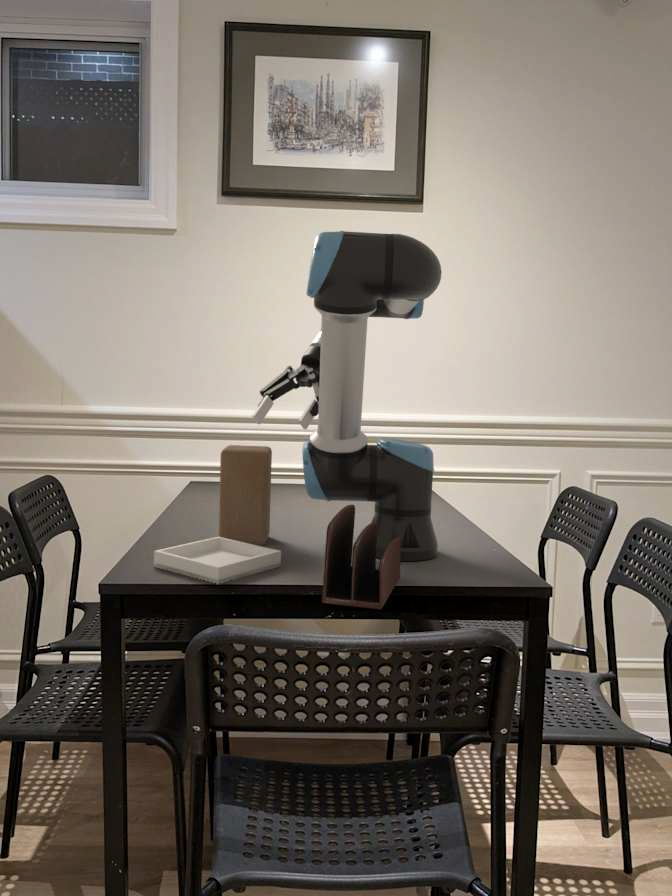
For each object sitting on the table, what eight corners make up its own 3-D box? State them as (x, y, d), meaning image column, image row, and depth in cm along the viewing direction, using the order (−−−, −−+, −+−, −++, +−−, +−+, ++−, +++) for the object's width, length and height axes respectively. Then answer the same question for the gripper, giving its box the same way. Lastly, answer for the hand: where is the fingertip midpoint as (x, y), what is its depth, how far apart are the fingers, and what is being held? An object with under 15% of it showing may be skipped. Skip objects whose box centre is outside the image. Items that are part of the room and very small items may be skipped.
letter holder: (321, 604, 129) (324, 519, 128) (347, 573, 148) (350, 498, 147) (381, 611, 127) (385, 524, 125) (400, 578, 146) (404, 503, 145)
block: (266, 546, 166) (268, 451, 163) (218, 545, 166) (220, 449, 163) (269, 536, 176) (272, 446, 173) (224, 534, 175) (226, 444, 173)
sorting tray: (280, 566, 151) (281, 550, 150) (217, 584, 137) (218, 567, 137) (218, 551, 160) (218, 536, 160) (153, 566, 147) (153, 550, 147)
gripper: (372, 369, 181) (330, 438, 171) (288, 365, 196) (245, 429, 186) (359, 345, 177) (315, 415, 166) (275, 343, 191) (229, 407, 181)
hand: (278, 422), depth 176 cm, fingers open, 13 cm apart
